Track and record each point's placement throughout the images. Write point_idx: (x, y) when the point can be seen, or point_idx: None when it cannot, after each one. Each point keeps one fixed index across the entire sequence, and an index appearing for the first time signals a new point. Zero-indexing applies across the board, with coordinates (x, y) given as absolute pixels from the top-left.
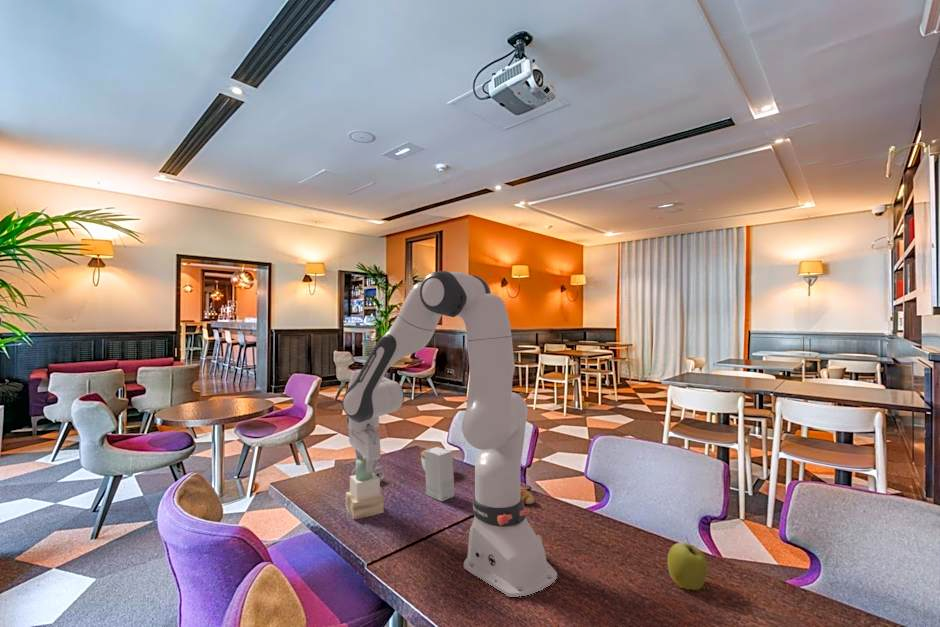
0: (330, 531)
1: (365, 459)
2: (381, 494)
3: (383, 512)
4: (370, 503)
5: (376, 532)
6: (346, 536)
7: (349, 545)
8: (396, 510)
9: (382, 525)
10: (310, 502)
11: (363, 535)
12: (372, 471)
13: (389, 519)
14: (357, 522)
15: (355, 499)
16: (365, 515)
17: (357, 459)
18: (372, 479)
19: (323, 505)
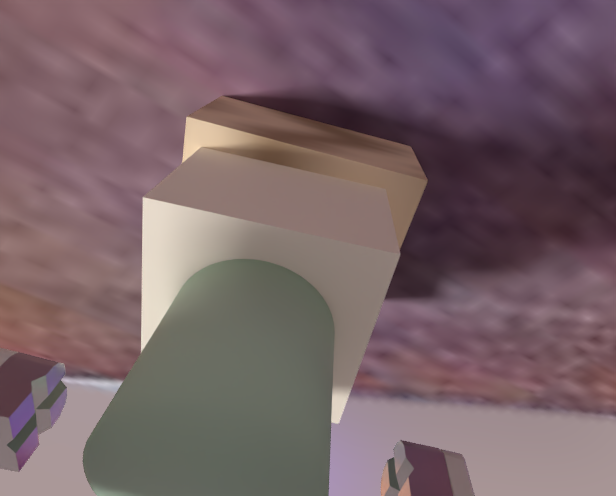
0: (373, 396)
1: (154, 456)
2: (381, 170)
3: (409, 146)
4: None
5: (559, 294)
6: (464, 382)
7: (535, 405)
8: (458, 65)
9: (532, 239)
10: (42, 333)
11: (523, 341)
12: (306, 325)
13: (515, 174)
14: (394, 299)
15: None
16: None
17: (33, 451)
18: (359, 310)
19: (108, 312)
